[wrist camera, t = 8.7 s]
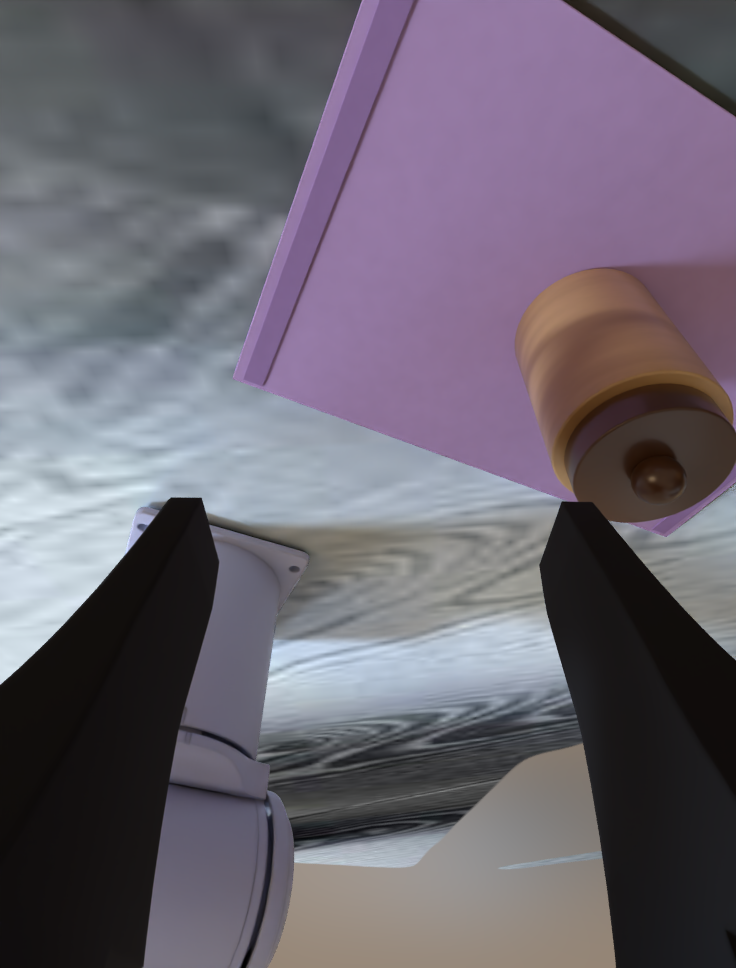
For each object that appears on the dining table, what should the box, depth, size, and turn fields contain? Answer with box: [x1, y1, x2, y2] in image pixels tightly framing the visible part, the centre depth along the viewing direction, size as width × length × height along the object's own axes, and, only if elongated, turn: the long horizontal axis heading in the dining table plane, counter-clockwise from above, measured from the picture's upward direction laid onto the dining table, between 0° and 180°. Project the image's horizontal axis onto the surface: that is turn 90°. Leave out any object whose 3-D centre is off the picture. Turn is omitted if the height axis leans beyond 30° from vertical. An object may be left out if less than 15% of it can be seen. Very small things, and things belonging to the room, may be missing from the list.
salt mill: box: [515, 268, 736, 523], centre depth 16 cm, size 4×4×8 cm
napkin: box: [233, 0, 736, 537], centre depth 19 cm, size 13×20×1 cm, turn 65°
